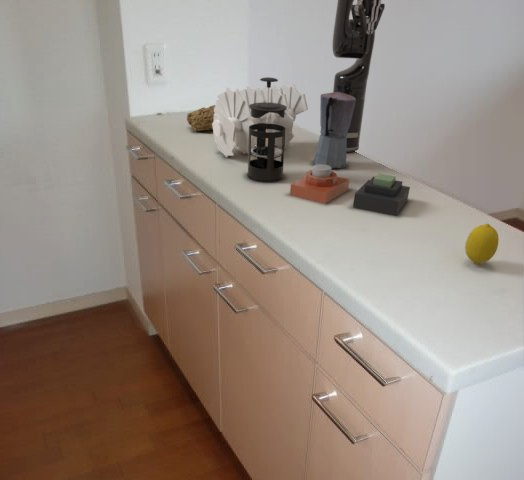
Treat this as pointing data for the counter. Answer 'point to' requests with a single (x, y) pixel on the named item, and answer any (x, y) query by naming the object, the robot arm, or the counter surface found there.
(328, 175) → the pale grey round puck
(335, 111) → the moka pot
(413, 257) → the counter surface
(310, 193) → the orange button block
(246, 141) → the spiral staircase
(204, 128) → the sponge
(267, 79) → the french press
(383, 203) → the dark square push button
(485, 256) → the lemon
